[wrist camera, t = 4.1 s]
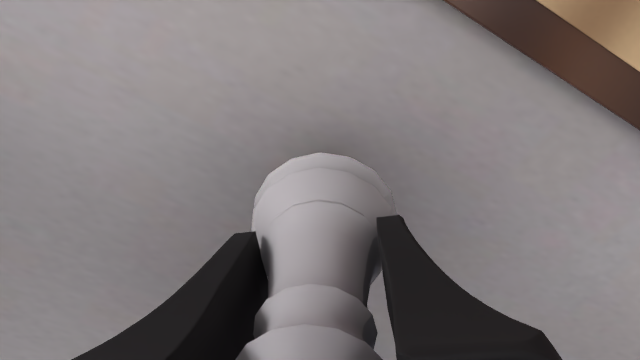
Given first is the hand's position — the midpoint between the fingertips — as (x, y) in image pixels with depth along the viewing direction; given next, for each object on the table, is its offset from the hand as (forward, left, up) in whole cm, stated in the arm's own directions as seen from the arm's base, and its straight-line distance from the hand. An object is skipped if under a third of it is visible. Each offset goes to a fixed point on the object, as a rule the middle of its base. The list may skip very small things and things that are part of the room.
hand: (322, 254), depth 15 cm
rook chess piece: (0, 0, -3) cm, 3 cm away
